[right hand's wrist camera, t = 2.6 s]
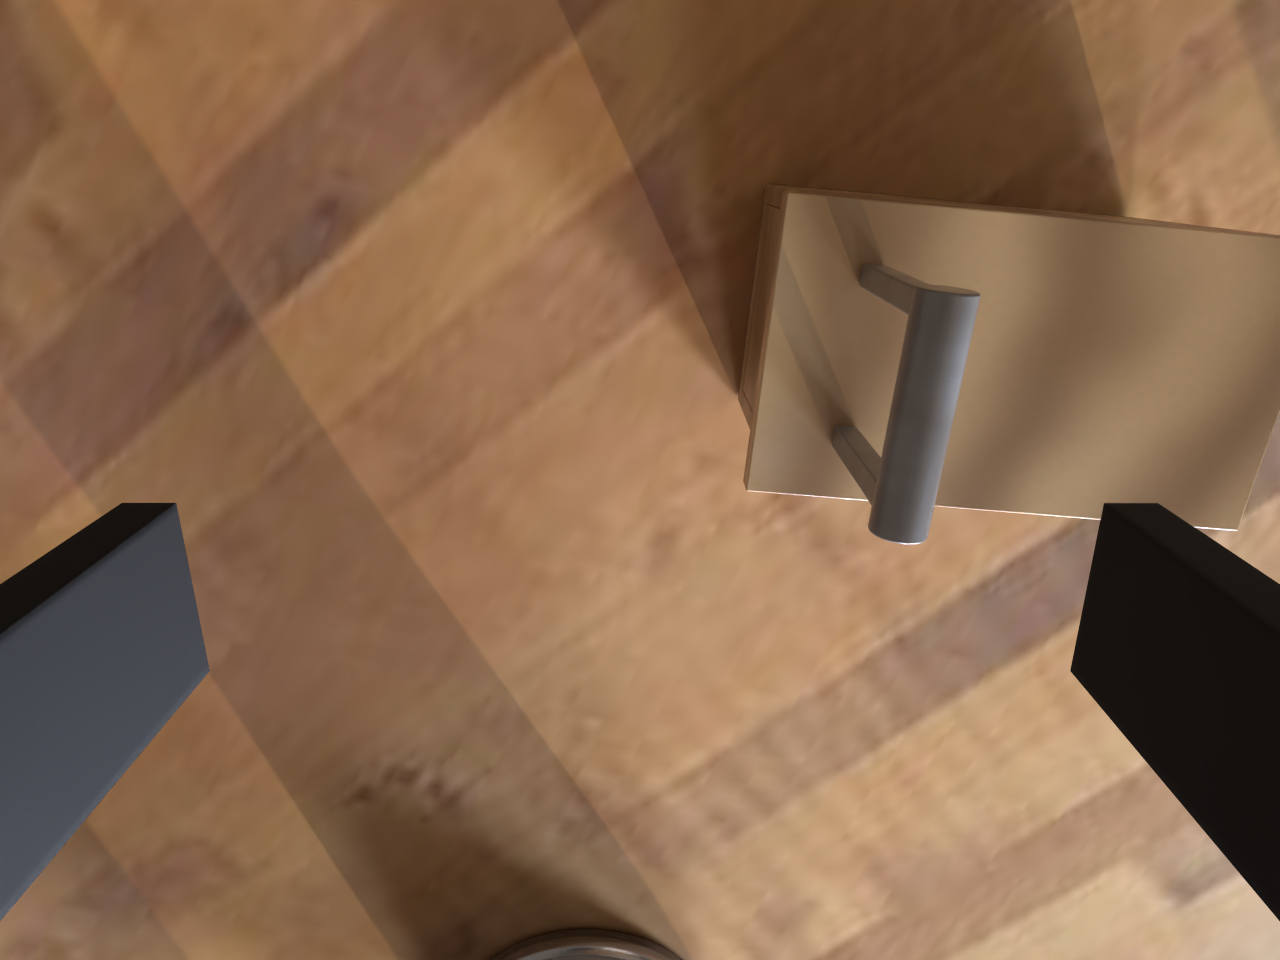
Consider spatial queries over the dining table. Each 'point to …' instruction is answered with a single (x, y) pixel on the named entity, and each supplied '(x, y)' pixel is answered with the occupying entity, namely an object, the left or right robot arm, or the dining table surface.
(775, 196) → the chest
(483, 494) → the dining table surface
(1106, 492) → the lid
